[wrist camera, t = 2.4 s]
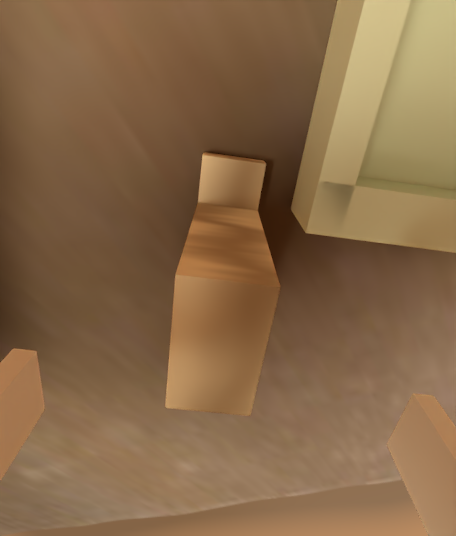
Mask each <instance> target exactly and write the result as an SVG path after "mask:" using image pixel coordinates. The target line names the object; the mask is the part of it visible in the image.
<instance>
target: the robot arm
mask: <svg viewBox="0 0 456 536" xmlns="http://www.w3.org/2000/svg"><path fill="white" fill-rule="evenodd" d="M44 410H45V406H44V399H43V392H42V385H41V378H40V371H39V364H38V357H37V351H33V350H24V349H15V348H13V349H12V350H11V351H10V353H9V354H8V355H7V356H6V357H5V358H4V359H3V360H2V361H1V362H0V481H1V479H2V478H3V476H4V474H5V473H6V471H7V469H8V468H9V466H10V465H11V463H12V461H13V460H14V458H15V457H16V455H17V453H18V452H19V450H20V449H21V447H22V445H23V444H24V442H25V441H26V439H27V437H28V436H29V434H30V433H31V431H32V429H33V428H34V426H35V424H36V423H37V421H38V420H39V418H40V416H41V415H42V413H43V412H44ZM387 447H388V449H389V451H390V454H391V456H392V458H393V460H394V462H395V464H396V467H397V469H398V471H399V473H400V475H401V477H402V480H403V482H404V484H405V486H406V488H407V490H408V493H409V495H410V497H411V499H412V501H413V503H414V506H415V507H416V510H417V512H418V514H419V516H420V519H421V521H422V523H423V525H424V527H425V529H426V532H427V534H428V536H456V427H455V425H454V424H453V422H452V421H451V420H450V418H449V417H448V415H447V414H446V413H445V411H444V410H443V408H442V407H441V405H440V404H439V403H438V401H437V400H436V398H435V397H434V396H432V395H423V394H415V393H413V394H412V396H411V398H410V400H409V402H408V404H407V406H406V408H405V410H404V412H403V414H402V415H401V417H400V419H399V421H398V423H397V425H396V427H395V429H394V431H393V433H392V435H391V437H390V439H389V441H388V443H387Z"/></svg>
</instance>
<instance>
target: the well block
mask: <svg viewBox="0 0 456 536" xmlns="http://www.w3.org/2000/svg"><path fill="white" fill-rule="evenodd" d="M291 211H292V212H293V214H294V215H295V217H296V219H297V220H298V222H299V223H300V225H301V227H302V228H303V230H304V231H305V233H309V234H316V235H324V236H331V237H339V238H347V239H354V240H362V241H369V242H377V243H385V244H392V245H400V246H408V247H415V248H423V249H430V250H438V251H446V252H453V253H456V0H338V1H337V5H336V9H335V14H334V18H333V23H332V27H331V32H330V36H329V41H328V45H327V49H326V54H325V58H324V63H323V67H322V72H321V76H320V81H319V85H318V89H317V94H316V98H315V103H314V107H313V112H312V116H311V121H310V125H309V129H308V134H307V138H306V143H305V147H304V152H303V156H302V160H301V165H300V169H299V174H298V178H297V183H296V187H295V192H294V196H293V200H292V205H291Z"/></svg>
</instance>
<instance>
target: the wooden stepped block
mask: <svg viewBox="0 0 456 536" xmlns="http://www.w3.org/2000/svg"><path fill="white" fill-rule="evenodd" d="M265 167H266V163H265V162H264V161H263V160H256V159H249V158H242V157H235V156H228V155H221V154H214V153H207V152H204V153H203V155H202V165H201V176H200V186H199V196H198V203H197V207H196V210H195V213H194V216H193V220H192V223H191V226H190V229H189V232H188V236H187V239H186V242H185V245H184V249H183V252H182V255H181V258H180V262H179V265H178V268H177V271H176V274H175V287H174V300H173V313H172V326H171V339H170V352H169V365H168V378H167V391H166V404H165V408H173V409H183V410H194V411H204V412H215V413H225V414H236V415H246V416H250V415H251V410H252V406H253V402H254V398H255V393H256V389H257V385H258V381H259V377H260V372H261V368H262V364H263V360H264V355H265V351H266V347H267V343H268V338H269V334H270V330H271V326H272V322H273V317H274V313H275V309H276V305H277V300H278V296H279V292H280V288H281V287H280V284H279V280H278V277H277V273H276V270H275V267H274V263H273V260H272V257H271V253H270V250H269V247H268V243H267V240H266V237H265V233H264V230H263V227H262V223H261V220H260V217H259V213H258V206H259V200H260V195H261V189H262V184H263V178H264V173H265Z"/></svg>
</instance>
